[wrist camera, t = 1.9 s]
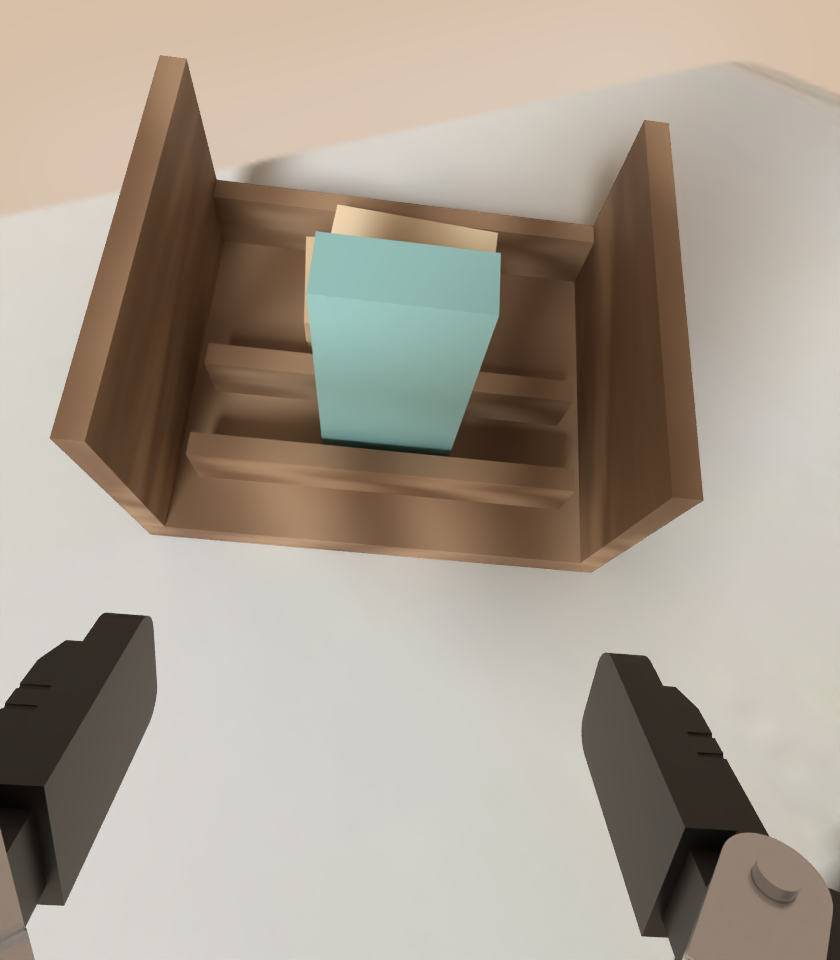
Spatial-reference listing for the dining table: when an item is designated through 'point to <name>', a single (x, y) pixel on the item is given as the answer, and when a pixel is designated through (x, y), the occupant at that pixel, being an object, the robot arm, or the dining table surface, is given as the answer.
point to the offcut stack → (398, 237)
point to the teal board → (398, 339)
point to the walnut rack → (292, 386)
